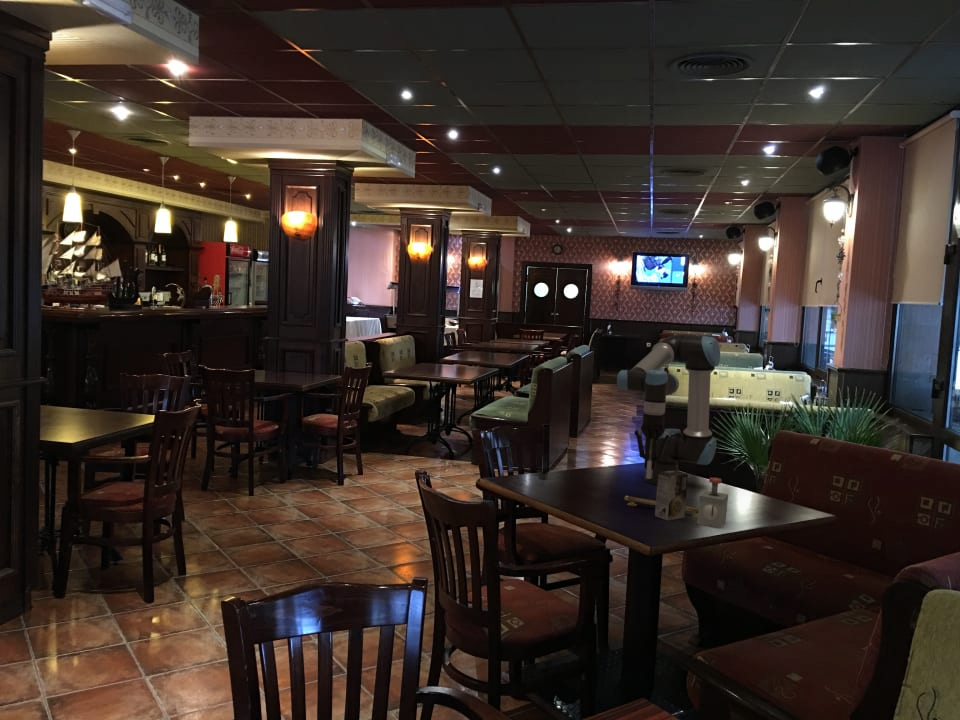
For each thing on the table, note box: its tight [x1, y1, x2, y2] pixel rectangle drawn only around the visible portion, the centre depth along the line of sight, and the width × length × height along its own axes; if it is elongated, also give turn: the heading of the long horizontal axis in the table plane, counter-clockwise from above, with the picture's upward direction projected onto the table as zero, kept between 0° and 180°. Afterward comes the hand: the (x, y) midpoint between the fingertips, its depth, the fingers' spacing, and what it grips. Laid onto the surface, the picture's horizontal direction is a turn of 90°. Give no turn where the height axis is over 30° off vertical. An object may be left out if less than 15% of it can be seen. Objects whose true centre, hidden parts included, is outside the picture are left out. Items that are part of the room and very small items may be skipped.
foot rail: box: [624, 495, 699, 518], centre depth 278 cm, size 30×2×3 cm, turn 63°
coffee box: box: [654, 470, 689, 521], centre depth 269 cm, size 9×6×16 cm
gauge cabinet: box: [697, 490, 729, 529], centre depth 264 cm, size 11×8×10 cm
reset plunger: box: [709, 477, 722, 494], centre depth 264 cm, size 4×4×5 cm
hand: (649, 477), depth 274 cm, fingers closed
